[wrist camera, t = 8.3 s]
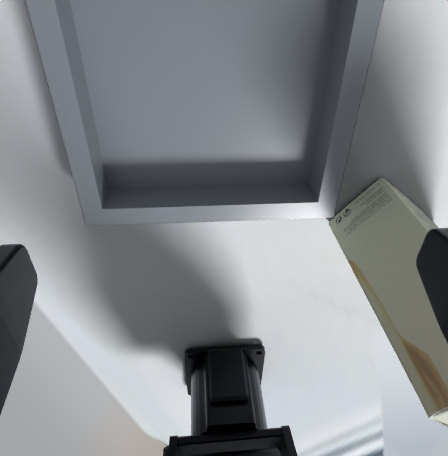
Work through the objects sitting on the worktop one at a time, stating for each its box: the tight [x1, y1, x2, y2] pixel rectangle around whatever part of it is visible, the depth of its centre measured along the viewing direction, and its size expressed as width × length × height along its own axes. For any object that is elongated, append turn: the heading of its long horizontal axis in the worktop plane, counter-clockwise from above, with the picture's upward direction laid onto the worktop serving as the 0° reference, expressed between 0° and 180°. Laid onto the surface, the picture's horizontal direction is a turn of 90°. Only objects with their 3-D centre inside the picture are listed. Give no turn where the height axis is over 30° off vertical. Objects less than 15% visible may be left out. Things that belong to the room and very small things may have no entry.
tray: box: [26, 0, 384, 226], centre depth 17 cm, size 13×13×2 cm
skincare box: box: [329, 178, 448, 428], centre depth 19 cm, size 6×4×12 cm
